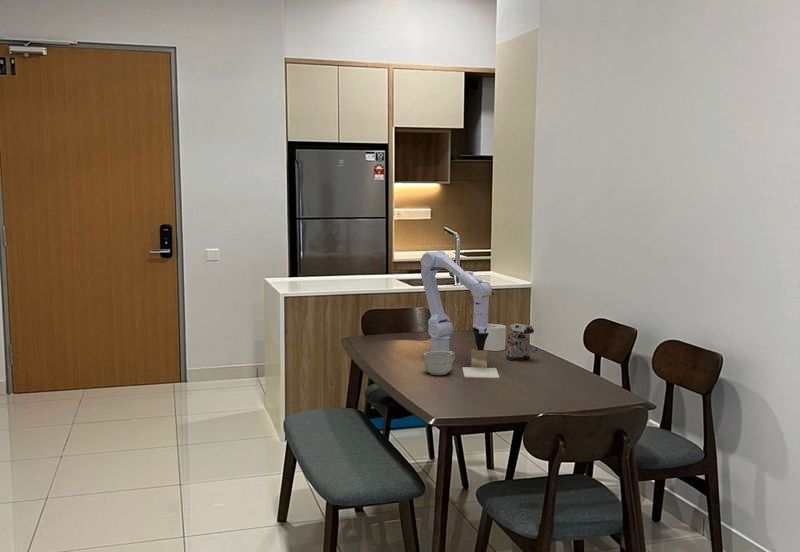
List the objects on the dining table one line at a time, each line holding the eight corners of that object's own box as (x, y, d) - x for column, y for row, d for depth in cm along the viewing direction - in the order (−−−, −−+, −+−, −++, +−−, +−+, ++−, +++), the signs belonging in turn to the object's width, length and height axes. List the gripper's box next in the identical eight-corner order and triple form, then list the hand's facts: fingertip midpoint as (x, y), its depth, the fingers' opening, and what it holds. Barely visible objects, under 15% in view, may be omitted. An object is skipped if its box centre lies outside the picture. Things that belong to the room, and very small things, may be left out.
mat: (462, 368, 299) (462, 367, 299) (495, 369, 299) (496, 368, 299) (464, 377, 285) (464, 376, 285) (499, 378, 285) (499, 377, 285)
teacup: (433, 378, 283) (434, 357, 282) (417, 371, 292) (418, 351, 291) (464, 374, 290) (465, 353, 289) (448, 367, 299) (448, 347, 298)
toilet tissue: (499, 352, 328) (500, 329, 326) (473, 348, 334) (474, 326, 333) (509, 348, 337) (510, 325, 335) (484, 344, 343) (485, 322, 342)
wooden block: (471, 367, 301) (471, 349, 300) (486, 367, 301) (487, 350, 300) (471, 368, 300) (472, 350, 299) (486, 368, 299) (487, 350, 298)
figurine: (516, 364, 307) (518, 327, 305) (504, 357, 318) (505, 322, 316) (537, 363, 310) (538, 326, 308) (524, 356, 321) (525, 321, 319)
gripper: (492, 317, 290) (491, 352, 292) (489, 310, 305) (488, 344, 306) (474, 316, 290) (473, 351, 292) (471, 310, 305) (470, 343, 307)
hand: (479, 348), depth 299 cm, fingers open, 7 cm apart
